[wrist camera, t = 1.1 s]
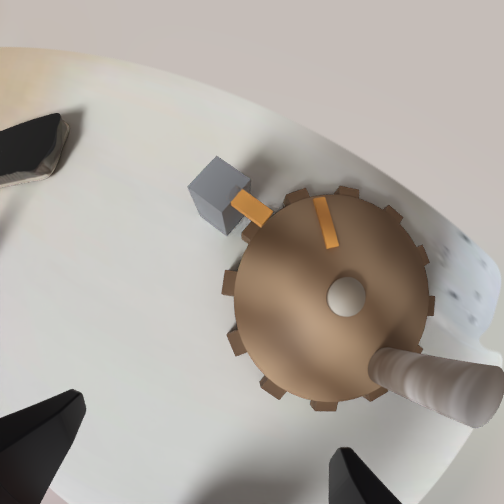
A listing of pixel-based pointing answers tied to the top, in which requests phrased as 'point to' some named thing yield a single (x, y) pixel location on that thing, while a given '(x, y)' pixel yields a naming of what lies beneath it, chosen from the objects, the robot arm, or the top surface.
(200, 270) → the top surface
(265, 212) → the grey toy mallet
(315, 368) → the sprocket
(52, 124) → the black sponge
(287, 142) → the top surface
